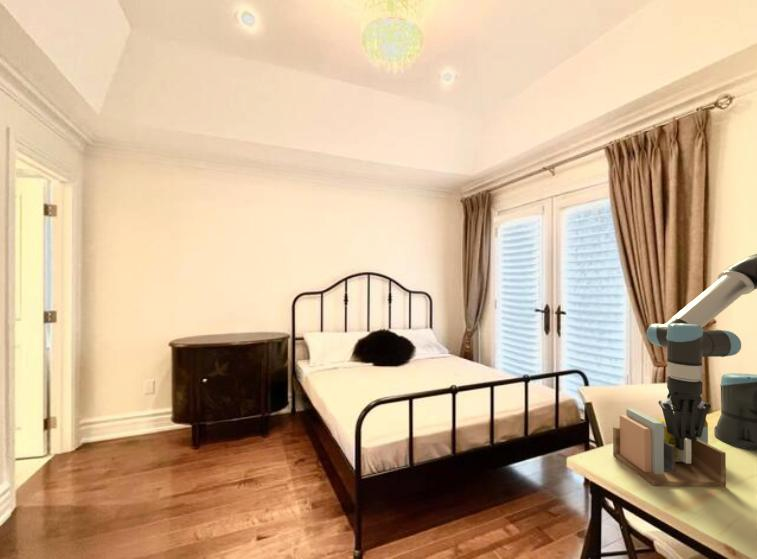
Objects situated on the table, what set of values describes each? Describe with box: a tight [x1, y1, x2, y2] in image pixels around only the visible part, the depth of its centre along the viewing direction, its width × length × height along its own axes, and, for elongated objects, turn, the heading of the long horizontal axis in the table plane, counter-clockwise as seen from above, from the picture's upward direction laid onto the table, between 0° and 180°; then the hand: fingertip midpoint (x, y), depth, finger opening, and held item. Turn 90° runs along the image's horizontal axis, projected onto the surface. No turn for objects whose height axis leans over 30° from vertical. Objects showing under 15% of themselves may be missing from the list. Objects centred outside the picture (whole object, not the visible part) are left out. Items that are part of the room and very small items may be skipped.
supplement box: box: [655, 418, 686, 464], centre depth 102 cm, size 6×6×11 cm
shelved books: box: [619, 408, 664, 474], centre depth 100 cm, size 4×11×14 cm, turn 179°
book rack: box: [612, 426, 727, 488], centre depth 98 cm, size 19×16×9 cm
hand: (684, 460), depth 97 cm, fingers closed
